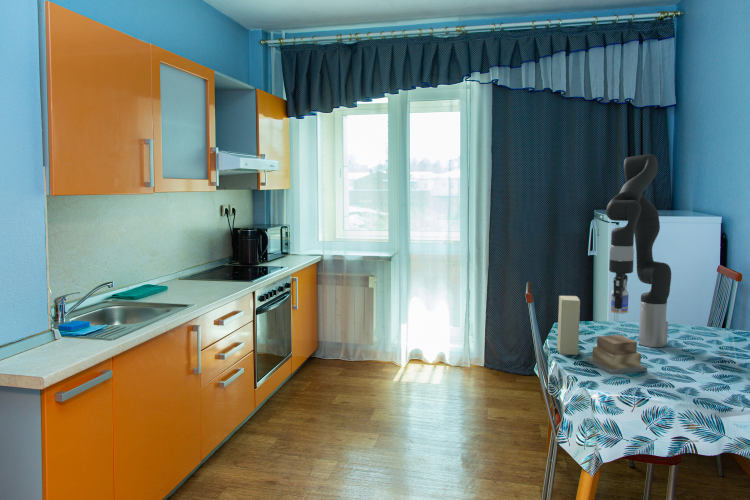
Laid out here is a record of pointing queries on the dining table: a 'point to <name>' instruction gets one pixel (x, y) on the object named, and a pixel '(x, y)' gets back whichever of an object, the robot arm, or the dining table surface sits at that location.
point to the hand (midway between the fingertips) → (619, 306)
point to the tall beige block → (568, 325)
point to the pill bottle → (624, 302)
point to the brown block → (616, 352)
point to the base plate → (616, 371)
